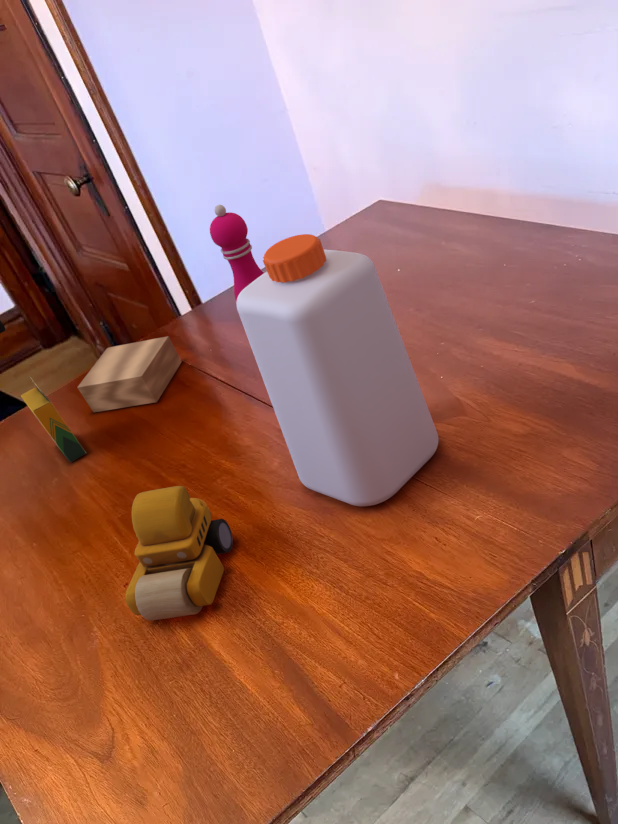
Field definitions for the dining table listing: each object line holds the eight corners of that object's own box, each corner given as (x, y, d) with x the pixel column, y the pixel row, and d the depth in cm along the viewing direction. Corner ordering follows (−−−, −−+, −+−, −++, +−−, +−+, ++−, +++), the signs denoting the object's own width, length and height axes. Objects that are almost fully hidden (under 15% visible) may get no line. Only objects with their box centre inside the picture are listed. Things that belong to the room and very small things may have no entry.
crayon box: (57, 446, 117) (12, 384, 110) (74, 436, 118) (30, 374, 110) (69, 464, 112) (23, 400, 105) (87, 453, 113) (43, 389, 105)
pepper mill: (239, 325, 132) (188, 213, 119) (270, 305, 135) (224, 193, 121) (261, 333, 127) (210, 217, 114) (293, 312, 130) (247, 196, 117)
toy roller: (138, 632, 82) (86, 567, 75) (172, 540, 92) (130, 476, 85) (212, 621, 80) (166, 553, 73) (238, 529, 90) (200, 462, 83)
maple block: (93, 412, 122) (76, 387, 119) (122, 372, 131) (107, 347, 127) (157, 402, 119) (141, 375, 116) (182, 361, 128) (168, 335, 124)
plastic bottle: (289, 486, 94) (189, 277, 75) (365, 416, 100) (291, 209, 82) (377, 519, 85) (288, 292, 66) (454, 440, 91) (394, 214, 73)
